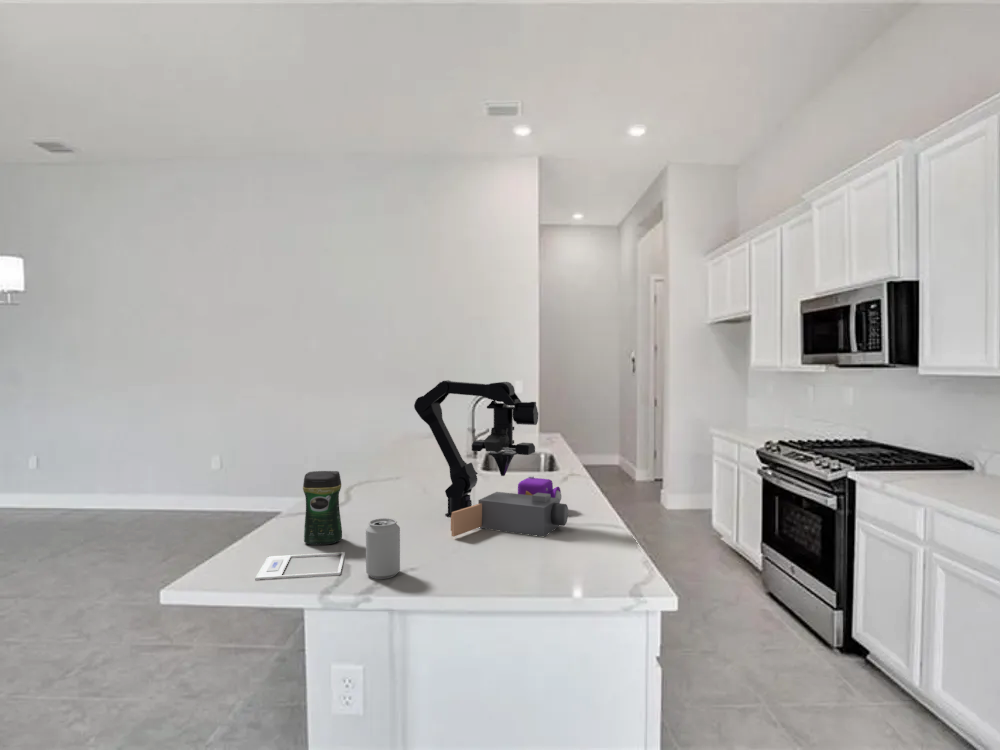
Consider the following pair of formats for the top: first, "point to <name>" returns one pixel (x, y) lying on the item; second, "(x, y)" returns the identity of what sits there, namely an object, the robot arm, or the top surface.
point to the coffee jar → (322, 507)
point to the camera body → (523, 513)
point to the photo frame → (277, 564)
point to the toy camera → (538, 487)
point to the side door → (466, 519)
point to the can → (382, 548)
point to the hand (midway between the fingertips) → (502, 475)
